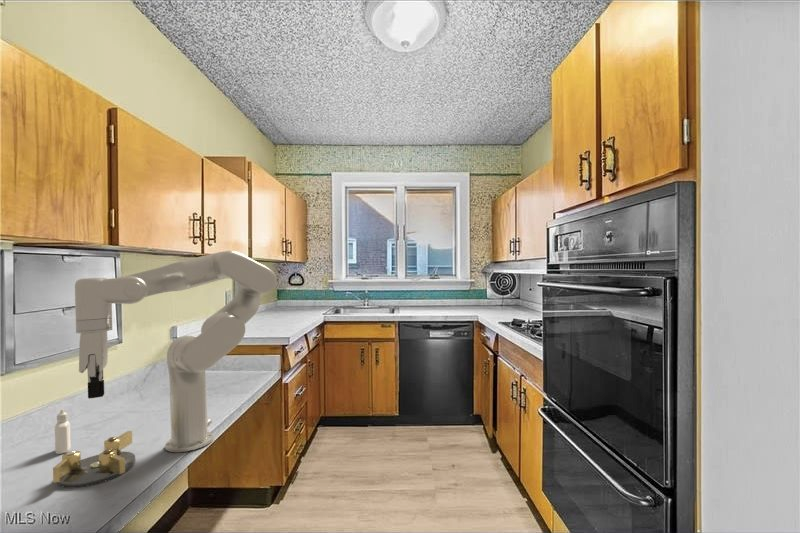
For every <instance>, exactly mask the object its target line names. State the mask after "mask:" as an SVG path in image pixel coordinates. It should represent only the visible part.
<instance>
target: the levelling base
mask: <svg viewBox="0 0 800 533" xmlns="http://www.w3.org/2000/svg"><path fill="white" fill-rule="evenodd" d="M118 456H120V457H123V458H125V473H127V472H128V471H130V470H131V469H132V468H133V467H134V466H135V465H134V464H136V454H135V453H133V452H132V451H131V452H130V451H121V454H120V455H118ZM130 468H131V469H130ZM129 469H130V470H129ZM126 471H127V472H126ZM119 475H120V476H121V474H117V473H115V472H113V471H109V472H99V454H96V455H92V456H89V457H86V458H83V459H81V469H80V470H78V471H76V472H73V473H69V474H67V475H66V476H65V477H64V478H63V479H62V480H61V481H60V482H56V484H57V486H59V487H61V486H64V487H63V488H66V487H76V488H82V487H81V486H84V487H88V486H87V485H89V486H92V485H91V484H94V485H96V484H95V483H98V484H100V483H99V482H101V483H103V482H102V481H105V480H107V481H109V480H108V479H110V480H112V479H111V478H113V477H115V478H117V477H116V476H118V477H120V476H119ZM122 475H123V473H122ZM113 479H114V478H113ZM105 482H106V481H105Z"/></svg>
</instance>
